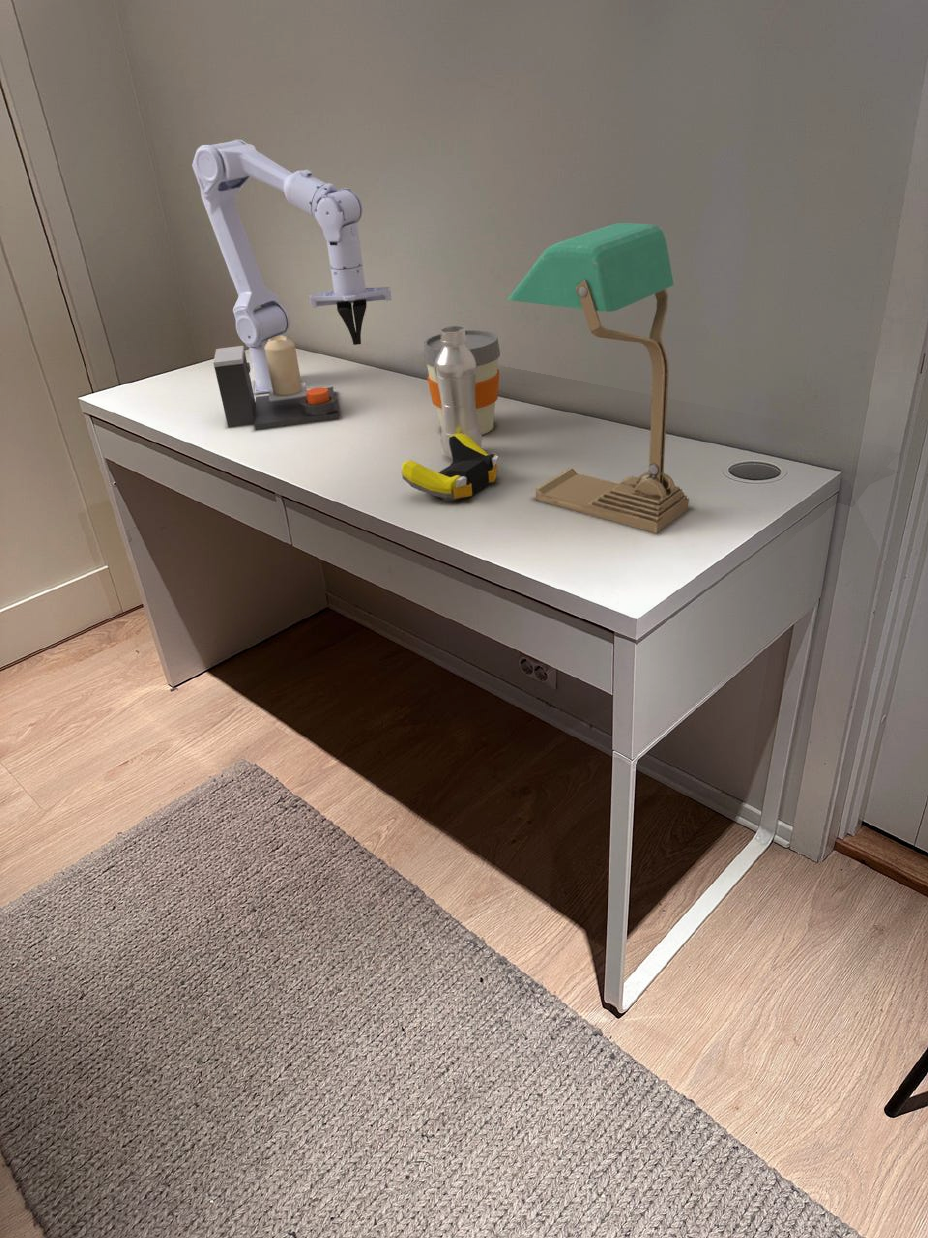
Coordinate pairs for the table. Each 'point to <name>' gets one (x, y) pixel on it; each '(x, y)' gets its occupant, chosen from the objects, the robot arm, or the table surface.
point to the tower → (240, 386)
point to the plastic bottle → (456, 387)
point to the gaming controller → (454, 471)
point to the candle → (283, 366)
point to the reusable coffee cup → (486, 373)
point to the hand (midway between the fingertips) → (357, 343)
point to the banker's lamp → (607, 281)
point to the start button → (317, 395)
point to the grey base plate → (293, 411)
